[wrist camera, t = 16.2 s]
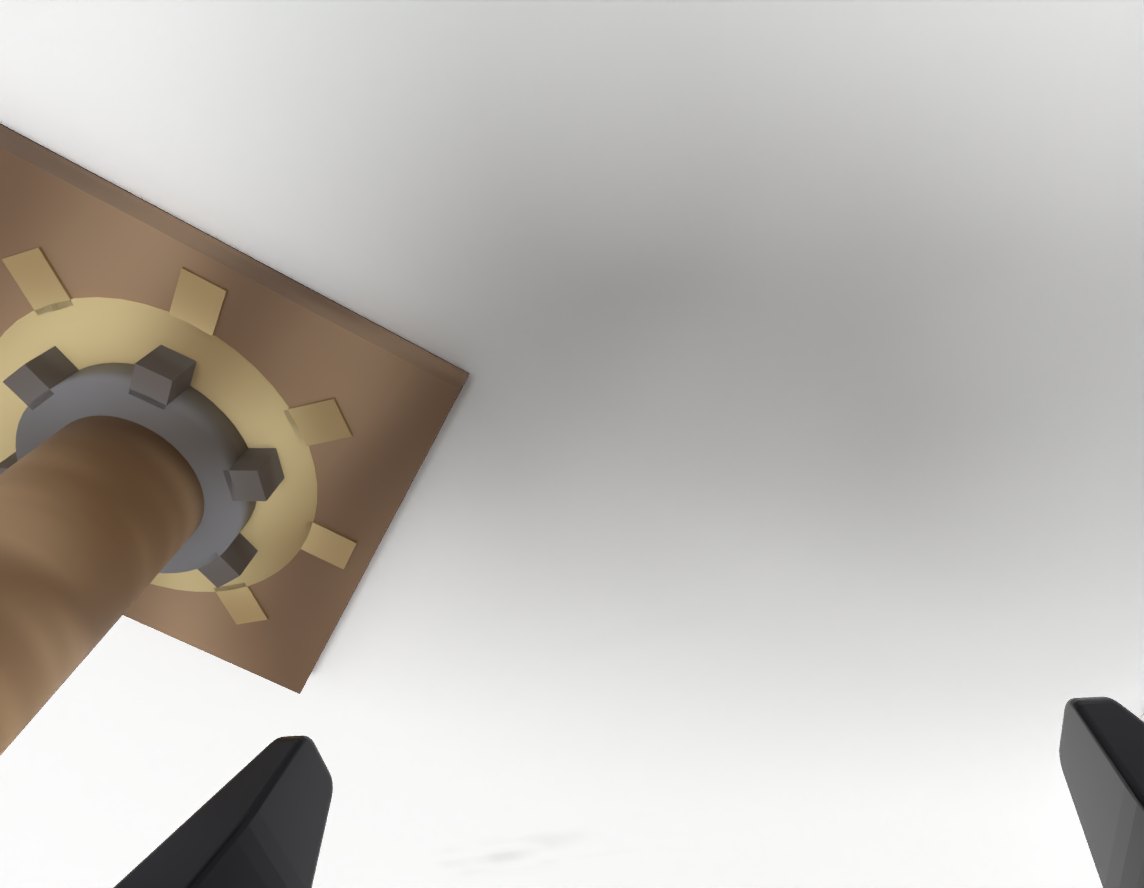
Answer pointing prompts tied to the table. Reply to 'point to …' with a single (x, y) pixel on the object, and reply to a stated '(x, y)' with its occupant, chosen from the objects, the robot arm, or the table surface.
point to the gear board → (225, 394)
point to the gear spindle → (110, 508)
